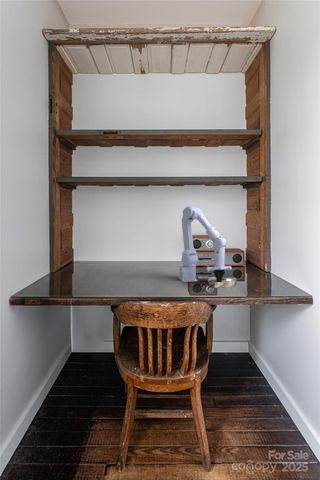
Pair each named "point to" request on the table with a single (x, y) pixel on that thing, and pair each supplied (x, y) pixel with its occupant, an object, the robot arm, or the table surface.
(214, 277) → the v block
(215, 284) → the parallel rails
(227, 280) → the axle
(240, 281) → the table surface
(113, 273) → the table surface
